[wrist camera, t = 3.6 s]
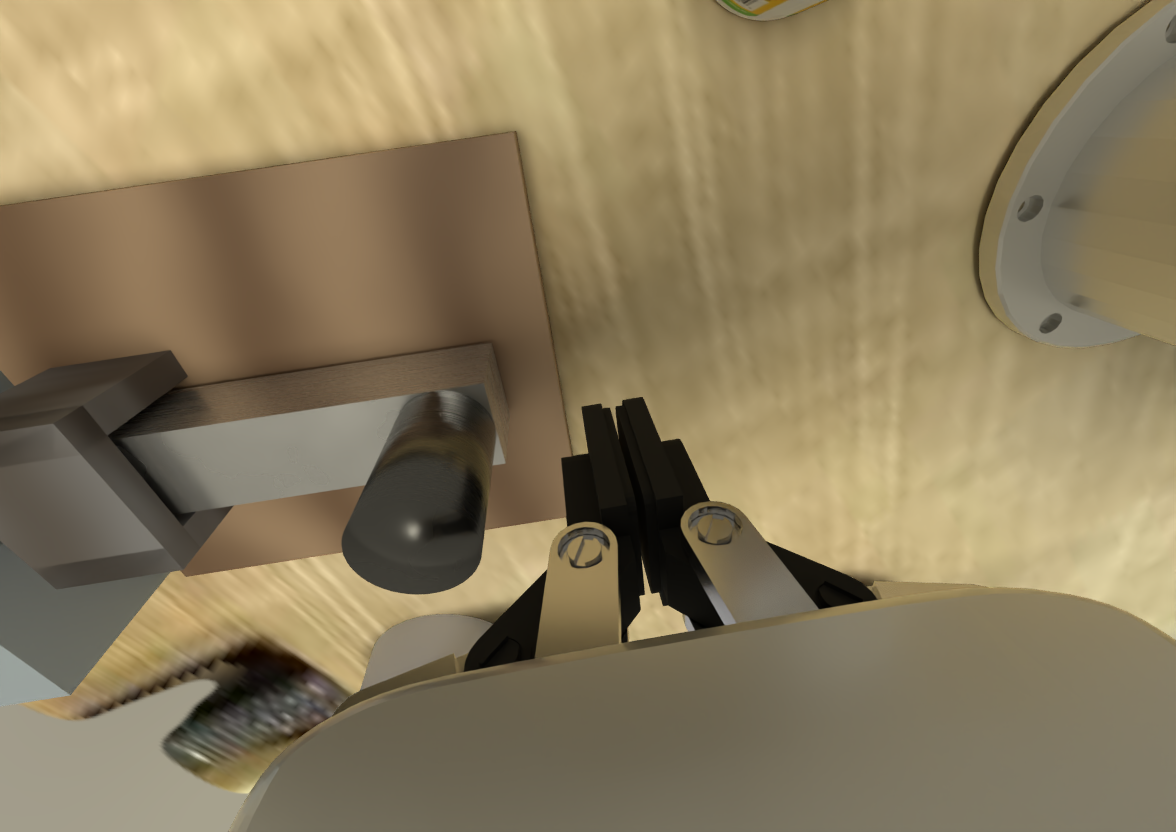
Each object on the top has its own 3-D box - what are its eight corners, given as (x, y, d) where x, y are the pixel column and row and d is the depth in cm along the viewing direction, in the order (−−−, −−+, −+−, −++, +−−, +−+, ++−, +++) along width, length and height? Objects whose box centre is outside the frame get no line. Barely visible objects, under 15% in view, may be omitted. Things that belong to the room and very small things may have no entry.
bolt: (491, 342, 16) (462, 490, 10) (510, 414, 18) (494, 583, 11) (143, 394, 16) (-124, 581, 10) (194, 463, 18) (-5, 662, 11)
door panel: (516, 131, 15) (504, 136, 9) (578, 486, 23) (591, 600, 18) (-54, 213, 15) (-406, 268, 9) (211, 543, 23) (108, 676, 17)
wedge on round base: (570, 592, 27) (348, 627, 27) (579, 715, 22) (299, 760, 21) (588, 674, 32) (400, 705, 32) (599, 792, 27) (371, 830, 26)
